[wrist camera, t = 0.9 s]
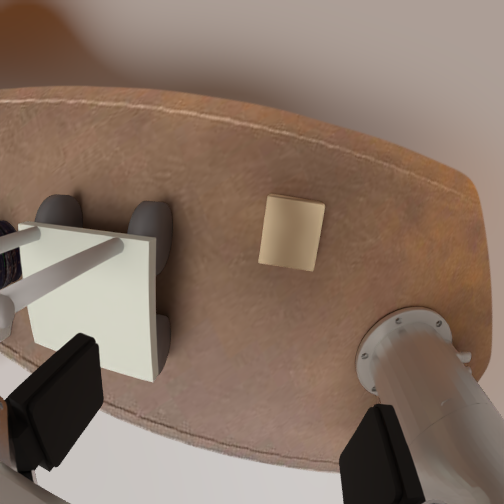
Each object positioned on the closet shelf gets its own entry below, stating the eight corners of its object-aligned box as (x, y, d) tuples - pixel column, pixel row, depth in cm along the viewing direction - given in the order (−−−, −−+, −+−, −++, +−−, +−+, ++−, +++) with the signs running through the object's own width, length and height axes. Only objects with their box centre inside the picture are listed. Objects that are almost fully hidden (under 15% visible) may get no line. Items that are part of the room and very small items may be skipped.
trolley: (184, 199, 31) (9, 259, 9) (179, 357, 36) (94, 507, 14) (65, 191, 33) (-96, 227, 11) (74, 330, 37) (-34, 425, 15)
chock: (320, 201, 30) (325, 205, 26) (310, 259, 32) (313, 271, 28) (270, 193, 30) (267, 196, 26) (261, 251, 32) (258, 262, 28)
